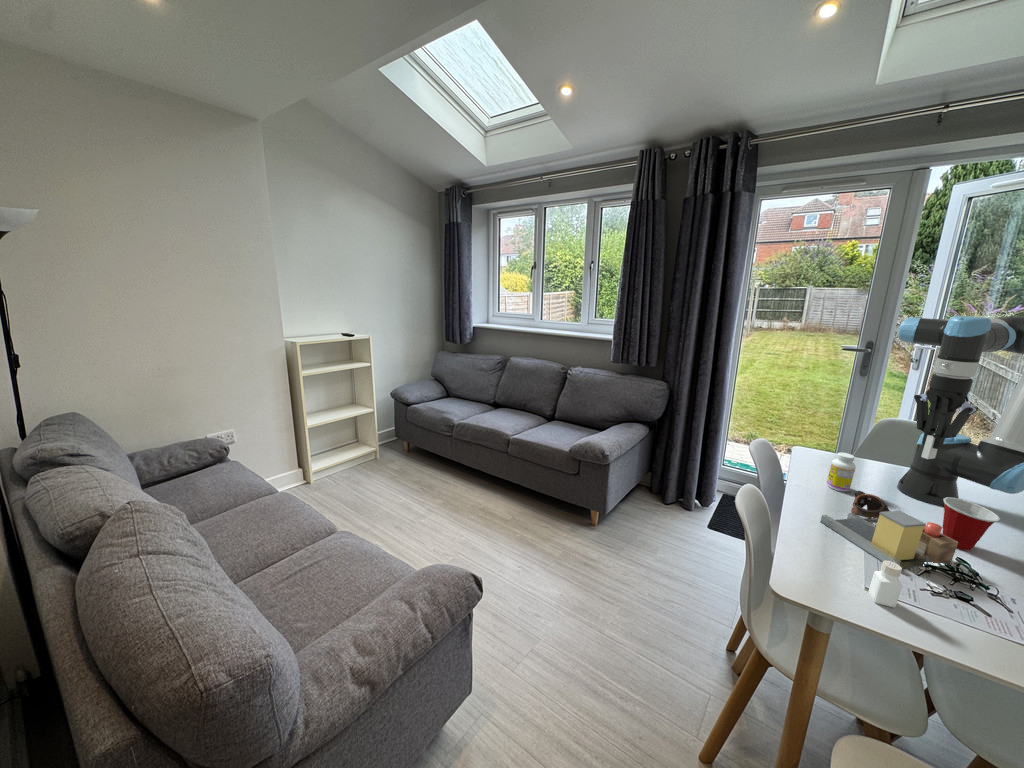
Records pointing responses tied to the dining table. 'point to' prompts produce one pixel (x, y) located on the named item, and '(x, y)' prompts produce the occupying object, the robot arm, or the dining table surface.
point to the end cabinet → (937, 547)
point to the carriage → (898, 534)
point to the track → (869, 539)
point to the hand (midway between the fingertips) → (927, 457)
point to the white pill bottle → (886, 584)
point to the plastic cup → (966, 522)
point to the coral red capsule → (933, 530)
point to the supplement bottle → (841, 472)
